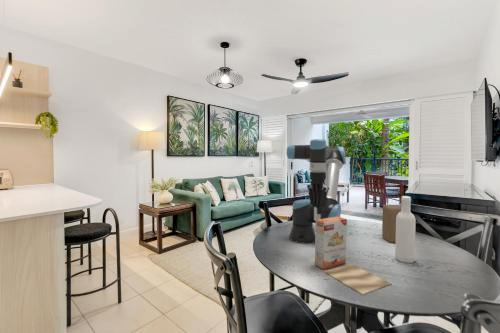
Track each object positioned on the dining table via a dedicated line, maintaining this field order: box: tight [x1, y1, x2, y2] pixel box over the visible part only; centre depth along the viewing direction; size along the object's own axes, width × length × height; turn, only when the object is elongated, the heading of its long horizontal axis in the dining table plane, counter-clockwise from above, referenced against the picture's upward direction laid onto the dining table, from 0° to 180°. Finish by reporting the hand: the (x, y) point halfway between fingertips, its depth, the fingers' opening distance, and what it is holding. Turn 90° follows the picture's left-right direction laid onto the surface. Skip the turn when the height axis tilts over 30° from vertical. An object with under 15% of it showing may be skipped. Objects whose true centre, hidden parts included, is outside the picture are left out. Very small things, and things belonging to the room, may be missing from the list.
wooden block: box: [381, 204, 402, 244], centre depth 142 cm, size 10×10×20 cm
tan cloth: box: [323, 263, 393, 296], centre depth 99 cm, size 19×16×1 cm
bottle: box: [394, 195, 417, 264], centre depth 115 cm, size 8×8×30 cm
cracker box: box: [314, 216, 348, 270], centre depth 111 cm, size 14×6×21 cm, turn 117°
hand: (317, 220), depth 118 cm, fingers closed
